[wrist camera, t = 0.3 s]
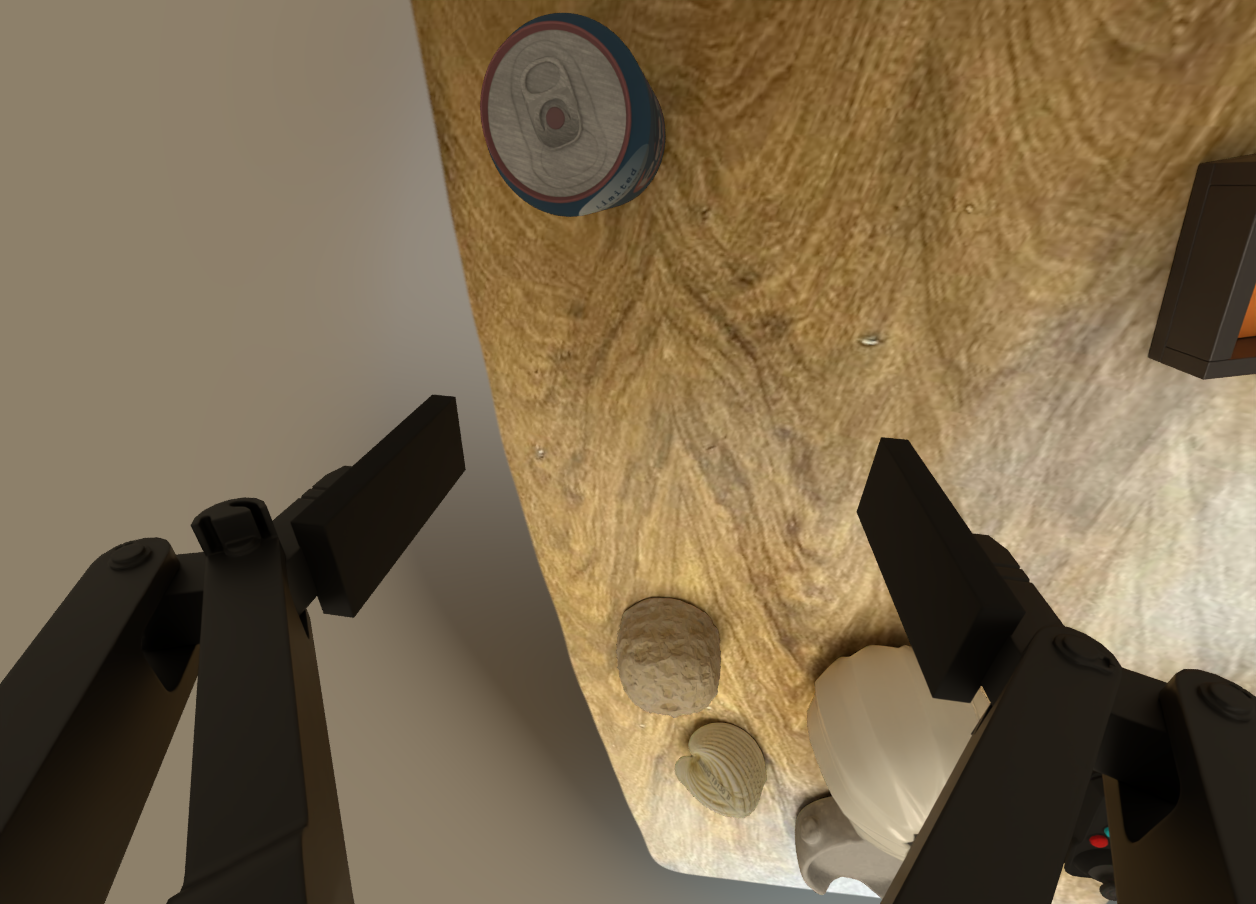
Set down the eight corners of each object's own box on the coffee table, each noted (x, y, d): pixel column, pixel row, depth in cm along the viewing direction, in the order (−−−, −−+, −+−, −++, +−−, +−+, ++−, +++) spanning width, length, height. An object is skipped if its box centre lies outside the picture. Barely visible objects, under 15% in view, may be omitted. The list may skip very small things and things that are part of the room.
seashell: (699, 721, 48) (775, 786, 45) (721, 695, 56) (787, 749, 53) (655, 790, 49) (726, 859, 46) (682, 755, 57) (745, 812, 54)
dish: (927, 860, 58) (945, 915, 54) (798, 858, 61) (805, 910, 56) (929, 781, 52) (950, 836, 47) (785, 783, 55) (792, 835, 50)
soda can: (681, 182, 30) (670, 183, 20) (572, 223, 32) (509, 244, 22) (645, 43, 28) (610, -43, 17) (528, 96, 29) (431, 48, 19)
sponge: (710, 628, 52) (772, 680, 42) (640, 701, 50) (689, 773, 40) (656, 564, 49) (711, 605, 39) (580, 640, 47) (618, 702, 37)
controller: (1012, 783, 50) (1077, 910, 42) (1037, 696, 45) (1119, 821, 36) (1062, 785, 50) (1139, 914, 41) (1094, 697, 44) (1192, 825, 35)
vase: (781, 642, 46) (809, 802, 34) (953, 607, 42) (1052, 775, 30) (821, 740, 51) (858, 908, 39) (977, 718, 47) (1070, 897, 35)
